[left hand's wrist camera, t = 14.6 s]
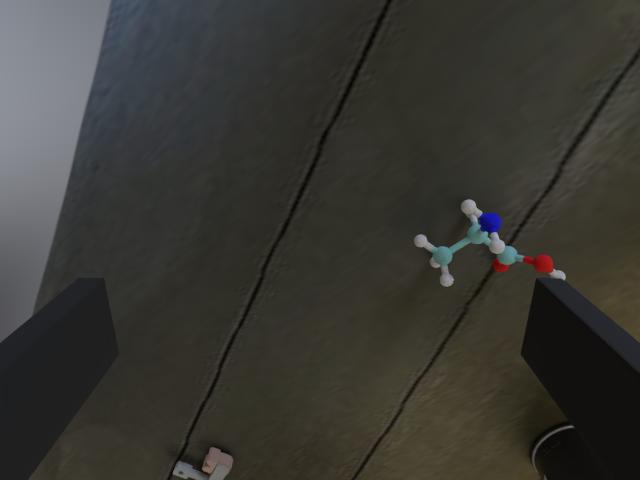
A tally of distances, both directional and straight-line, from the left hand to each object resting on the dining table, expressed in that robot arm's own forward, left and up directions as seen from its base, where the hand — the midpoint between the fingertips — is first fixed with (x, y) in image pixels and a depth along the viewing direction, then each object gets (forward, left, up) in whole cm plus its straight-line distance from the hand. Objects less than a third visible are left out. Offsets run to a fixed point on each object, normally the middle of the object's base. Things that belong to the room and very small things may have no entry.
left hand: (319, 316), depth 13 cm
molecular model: (-17, +3, -29) cm, 34 cm away
